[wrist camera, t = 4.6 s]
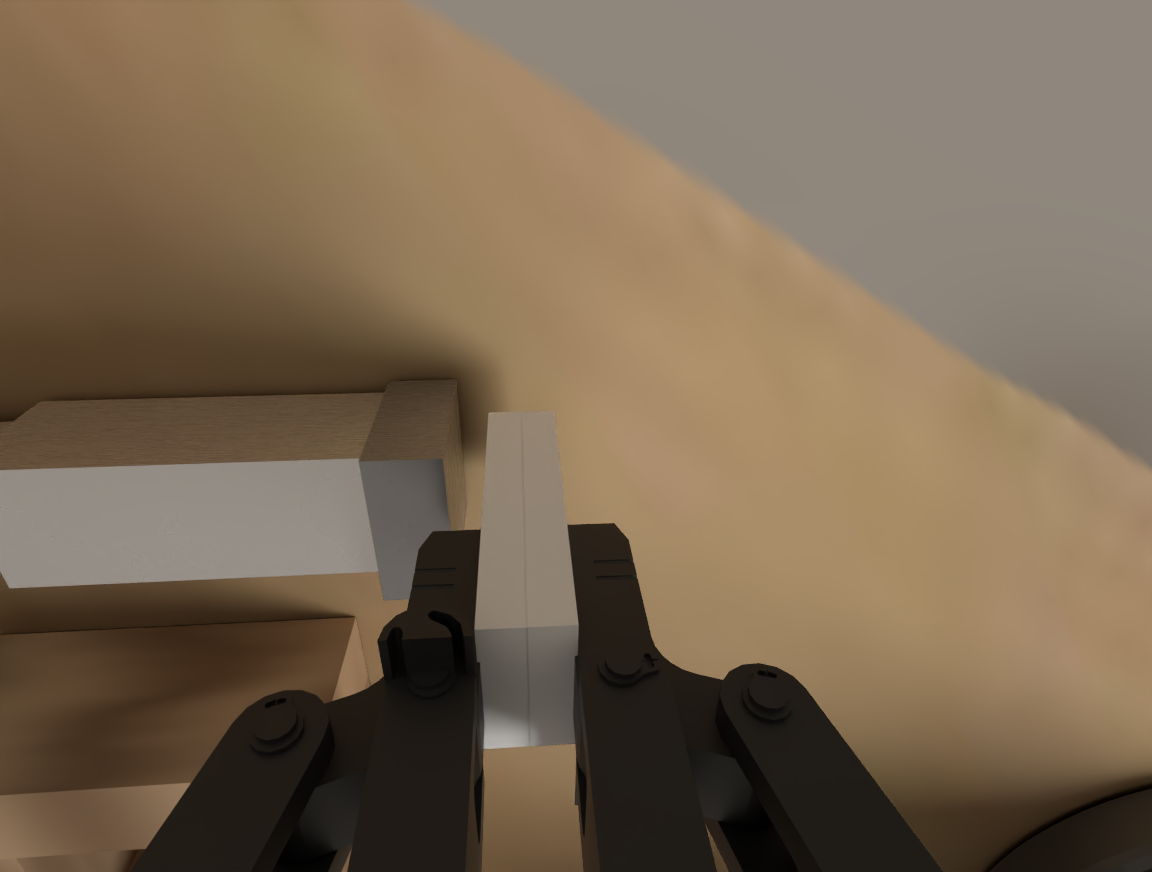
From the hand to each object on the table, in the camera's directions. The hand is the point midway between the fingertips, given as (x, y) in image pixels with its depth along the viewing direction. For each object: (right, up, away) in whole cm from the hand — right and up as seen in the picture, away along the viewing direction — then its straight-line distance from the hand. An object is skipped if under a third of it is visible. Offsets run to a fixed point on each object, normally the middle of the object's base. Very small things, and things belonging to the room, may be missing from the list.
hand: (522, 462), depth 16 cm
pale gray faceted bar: (-8, 0, +1) cm, 8 cm away
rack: (-10, -9, +6) cm, 15 cm away
